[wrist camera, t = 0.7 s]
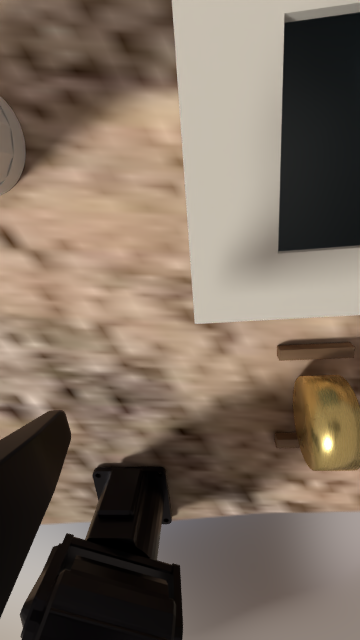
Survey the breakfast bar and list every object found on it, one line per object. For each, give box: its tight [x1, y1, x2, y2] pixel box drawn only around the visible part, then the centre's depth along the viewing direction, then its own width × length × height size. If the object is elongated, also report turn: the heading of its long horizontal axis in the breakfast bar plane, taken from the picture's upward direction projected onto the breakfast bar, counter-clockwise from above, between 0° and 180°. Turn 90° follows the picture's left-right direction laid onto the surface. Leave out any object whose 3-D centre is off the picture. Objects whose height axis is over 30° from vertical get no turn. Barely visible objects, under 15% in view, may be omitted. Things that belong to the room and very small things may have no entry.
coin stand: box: [275, 342, 355, 448], centre depth 23 cm, size 9×5×1 cm, turn 5°
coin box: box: [172, 0, 360, 324], centre depth 15 cm, size 14×12×7 cm
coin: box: [293, 375, 360, 471], centre depth 20 cm, size 6×2×6 cm, turn 5°
